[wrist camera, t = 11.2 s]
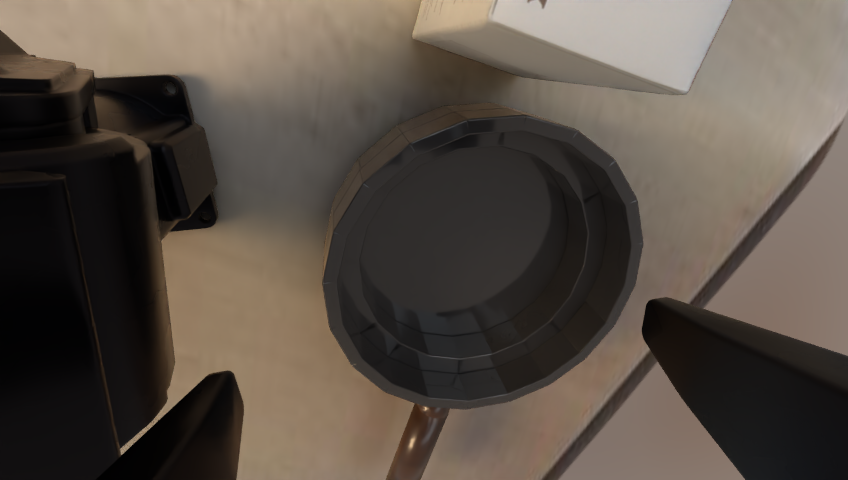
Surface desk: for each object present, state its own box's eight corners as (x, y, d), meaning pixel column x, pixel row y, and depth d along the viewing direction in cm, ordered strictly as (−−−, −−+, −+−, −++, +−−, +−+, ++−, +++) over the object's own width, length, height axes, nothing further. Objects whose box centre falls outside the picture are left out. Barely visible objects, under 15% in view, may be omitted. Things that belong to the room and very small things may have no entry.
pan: (344, 369, 25) (345, 431, 21) (305, 113, 19) (297, 131, 15) (574, 333, 27) (616, 383, 23) (606, 93, 21) (670, 104, 17)
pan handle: (418, 377, 23) (425, 403, 21) (450, 381, 23) (458, 406, 22) (375, 492, 26) (378, 522, 24) (404, 493, 26) (408, 523, 25)
